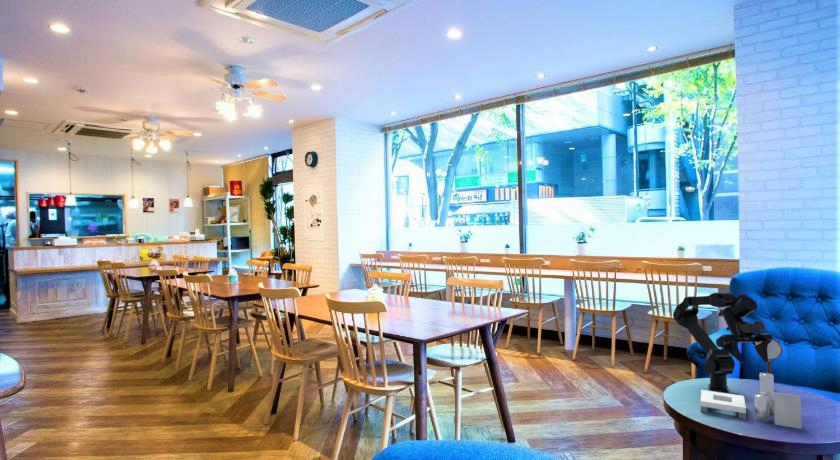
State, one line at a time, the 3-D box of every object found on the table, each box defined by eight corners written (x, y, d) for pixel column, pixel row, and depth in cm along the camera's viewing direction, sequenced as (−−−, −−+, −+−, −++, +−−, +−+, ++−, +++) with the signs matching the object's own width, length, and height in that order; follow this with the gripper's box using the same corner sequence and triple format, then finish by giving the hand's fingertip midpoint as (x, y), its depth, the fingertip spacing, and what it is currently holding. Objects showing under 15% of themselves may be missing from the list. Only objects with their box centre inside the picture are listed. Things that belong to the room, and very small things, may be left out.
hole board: (701, 400, 176) (701, 389, 176) (743, 406, 169) (743, 395, 169) (700, 411, 164) (700, 400, 164) (746, 419, 158) (745, 407, 158)
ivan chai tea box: (801, 429, 150) (801, 397, 150) (774, 424, 153) (774, 393, 153) (800, 425, 153) (799, 394, 153) (774, 420, 157) (773, 390, 156)
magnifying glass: (756, 387, 188) (755, 337, 188) (755, 386, 190) (754, 336, 190) (783, 390, 184) (782, 339, 184) (781, 389, 186) (781, 338, 186)
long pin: (759, 408, 167) (758, 371, 167) (773, 410, 165) (772, 373, 165) (760, 412, 163) (759, 374, 163) (774, 414, 161) (774, 376, 161)
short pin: (754, 416, 160) (753, 392, 160) (768, 418, 158) (768, 394, 158) (755, 420, 157) (754, 396, 157) (770, 422, 155) (769, 398, 155)
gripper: (724, 313, 171) (744, 355, 162) (772, 312, 173) (794, 353, 164) (707, 326, 180) (725, 366, 171) (753, 325, 182) (773, 364, 173)
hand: (754, 362), depth 169 cm, fingers open, 9 cm apart
